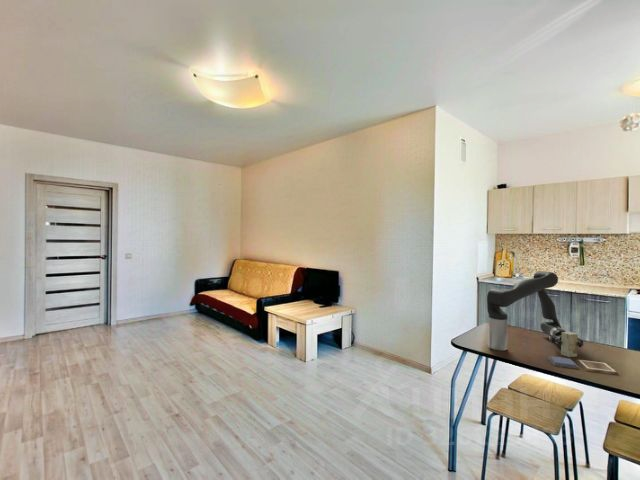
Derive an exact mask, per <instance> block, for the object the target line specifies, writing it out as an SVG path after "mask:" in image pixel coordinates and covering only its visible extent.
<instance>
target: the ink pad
mask: <svg viewBox="0 0 640 480" xmlns="http://www.w3.org/2000/svg"><path fill="white" fill-rule="evenodd" d="M547 360H548V361H549V362H550V363H551V365H552V366H553V367H561V368H568V369H577V370H580V366H579V365H577V363H576V362H574V361H573V360H572V359H571V358H569V357H568V358H567V357H559V356H551V355H550V356H547Z"/></svg>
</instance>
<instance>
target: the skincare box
mask: <svg viewBox="0 0 640 480" xmlns="http://www.w3.org/2000/svg"><path fill="white" fill-rule="evenodd" d="M578 338H579V336H578V333H576V332H573V331H566V332H562V336H561V342H562V345H560V347H561V348H560V355H561V356H564V357H566V358H567V357H568V358H574V357H578V346H577V341H578Z"/></svg>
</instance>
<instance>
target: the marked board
mask: <svg viewBox="0 0 640 480" xmlns="http://www.w3.org/2000/svg"><path fill="white" fill-rule="evenodd" d="M575 361H576V362H575V363H576V364H579V365H580V367H581V368H583V370H585V371H586V372H593V373H600V374H605V375H606V374H607V375H615V376H619V372H618V371H617V370H616V369H614V368H613V367H612V366H610V365H609V364H608V363H607V362H601V361H599V362H598V361H592V360H584V359H577V358H576V359H575Z"/></svg>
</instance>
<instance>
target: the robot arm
mask: <svg viewBox="0 0 640 480" xmlns="http://www.w3.org/2000/svg"><path fill="white" fill-rule="evenodd" d="M558 282H559V277H558V275H557V274H556V273H554V272H552V271H543V270H542V271H541V270H538V271H537V270H536V271H535V273H534V274H533V278H528V279H527V278H526V279H522V280H520V281H517V282H515V283H514V284H513V286H512V288H511V289H510V290H501V289H496V288H492V289H490V290H489V291H488V293H487V295H486V306H487V308H486V309H487V313H488V329H487V346H488V349H492V350H493V351H494V350H495V351H501V352H502V351H506V350H508V314H507V313H506V312H505V311H504V310H502V308H506V307H510V306H512V304H514V303H516V302H517V301H519V300H522V299H524V298H526V297H530V296H531V295H533V294H535V293H537V296H538V298H539V301H540V306H541V307H540V308H541V315H542V317H543V319H545V320H550V321H543V322H541V323H540V325H539V326H540V330H541V331H542V332H543V334H545V335H548V339H549V341H550V342H551V343H555V344H557V345H559V346H561V345H562V342H561V336H562V332H567V331H566V330H565V329H563V328H562V326H561V324H560V321H559V320H558V316H557V312H556V305H555V303H554V301H553V300H552V298H551V297H550V296H549V294H548V293H547V291H546V289H549V288H553V287H555V286H557V284H558ZM583 346H584V340H583V339H581V338H580V337H578V341H577V348H582V347H583Z"/></svg>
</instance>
